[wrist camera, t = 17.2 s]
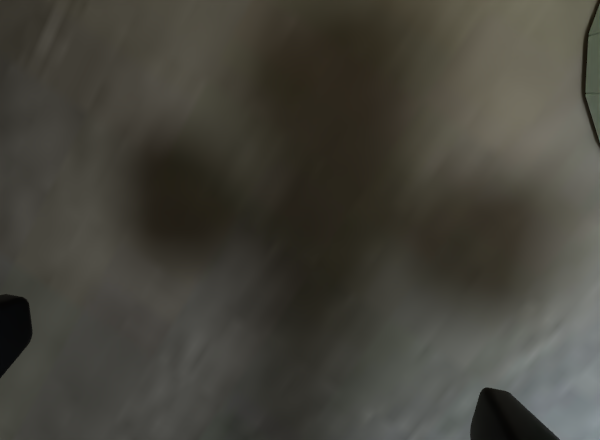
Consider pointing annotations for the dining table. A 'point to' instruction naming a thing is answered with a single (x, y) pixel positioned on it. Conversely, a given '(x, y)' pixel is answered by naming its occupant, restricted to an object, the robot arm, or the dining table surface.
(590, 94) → the bowl
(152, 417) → the dining table surface
